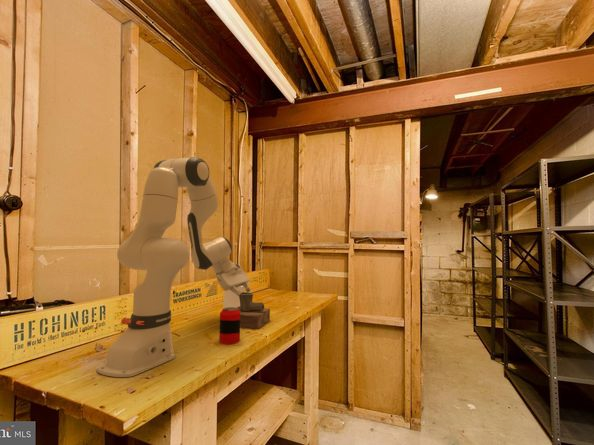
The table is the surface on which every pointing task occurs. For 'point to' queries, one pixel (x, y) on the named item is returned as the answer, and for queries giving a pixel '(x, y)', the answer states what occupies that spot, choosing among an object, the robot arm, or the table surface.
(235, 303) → the corner bracket
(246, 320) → the walnut block
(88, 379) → the table surface
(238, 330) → the soda can
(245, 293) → the pipe
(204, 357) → the table surface
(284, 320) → the table surface
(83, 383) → the table surface
